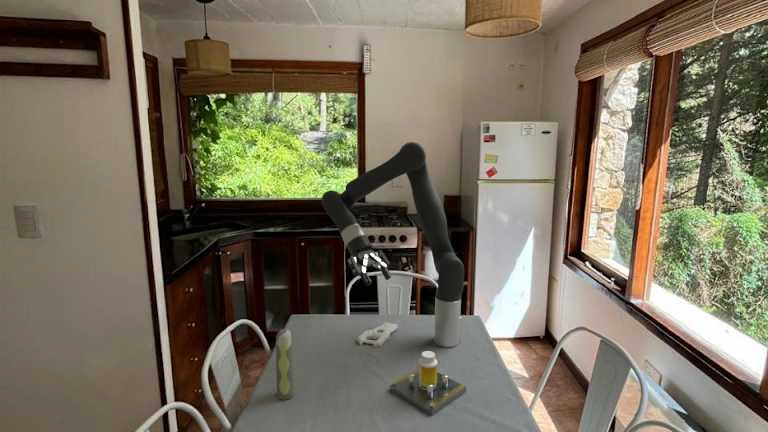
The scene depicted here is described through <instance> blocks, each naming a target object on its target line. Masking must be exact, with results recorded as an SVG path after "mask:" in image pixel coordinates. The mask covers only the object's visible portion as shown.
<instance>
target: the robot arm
mask: <svg viewBox="0 0 768 432" xmlns="http://www.w3.org/2000/svg"><path fill="white" fill-rule="evenodd" d="M426 159H427V153H426V151H425V149H424V147H423V146H422V145H421V144H419V143H418V142H414V141H410V142H407V143H405V144H403V145H401V148H400V149H399V151H398V152H397V153H396V154H395V155H393V156H392V157H391V158H390V159H388V160H387V161H385V162H384V163H382V164H380V165H378V166H376V167H374V168H372V169H370V170H368V171H366V172H363V174H361V175H359V176H357V177H356V178H354V179H352V180H350V181H349V182H347V184H346V185H345V189H344V191H343V192H341V193H339V192H338V191H335V190H327V191H325V192H324V193H323V195H322V197H321V205H322V207H323V209H324V211H325V212H326V213H327V215H328V217H330V218H331V220H332V221H333V223H334V224H335V226H336V228H337V230H338V232H339V234H340V235H341V237H342V238H341V239H342V240H343V241H342V242H344V244H345V246H346V248H347V250H348V252H349V253H350V257H349V258H348V259H347V264H348V267H349V268H350V270H351V273H352V275H353V276H354V277H356V276H358V277H360V278H361V280H362V281H363V283H364V285H365V286H367V287H368V286H370V285H371V284H372V282H373V281H372V279H371V278H370V276H369V274H368V273H367V272H366V271H367V268H372V267H374V268H375V269H376V268H377V269H379V270H380V271H381V274H382V276H383V277H384V279H385V280H386V281H388V280H390V279H391V278H392V274H391V272H390V271H389V269H388V266H389V265H390V261H389V260H388V258H387V256H386V254H385V253H384V252H383V250H382V249H379V250H378V251H376V252H375V251H374V249H373V244H372V243H371V240H370V239H369V238H368V236H367V234H366V233H365V230H364V228H362V227H361V226H360V224H359V222H358V221H357V219H356V216H354V214H353V213H352V212H351V211H350V209H351V208H353V206H354V205H355V204H356V203H357V202H358V201H359V200H361V199H362V198H364V197H366V196H368V195H370V194H372V192H375V190H377V189H379V188H381V187H383V186H384V185H385V184H387V183H389V182H390V181H392V180H394V179H396V178H398V177H400V176H403V175H406V176H407V178H408V181H409V185H410V187H411V193H412V198H413V203H414V207H415V211H416V213H417V214H416V215H417V217H418V220H419V223H420V226H421V228H422V230H423V233H424V235H425V237H426V240H427V241H428V244H429V247H430V250H431V255H432V259H433V264H434V269H435V271H436V273H437V274H438V276H437V277H438V279H437V281H438V283H437V288H436V290H435V301H434V303H435V304H434V329H433V330H434V332H433V333H434V334H433V335H434V336H433V342H434V343H435V344H436V345H438V346H440V347H444V348H453V347H456V346H458V345H459V344H460V342H462V332H463V331H462V326H463V317H462V316H461V311H462V310H461V309H462V308H461V307H462V306H461V304H462V294H463V291H464V282H465V265H464V264H463V261H462V260H461V259H460V258H459V257H458V256H457V255H456V253H455V251H454V249H453V247H452V244H451V241H450V239H449V238H450V237H449V235H448V234H449V233H448V232H449V231H448V223H447V217H446V213H445V210H444V207H443V203H442V201H441V199H440V196H439V194H438V192H437V189H436V187H435V185H434V183H433V181H432V179H431V177H430V172H429V169H428V163H427V160H426Z"/></svg>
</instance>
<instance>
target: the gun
mask: <svg viewBox="0 0 768 432" xmlns="http://www.w3.org/2000/svg"><path fill="white" fill-rule="evenodd" d="M398 328H399V326H398V324H397V323H392V322H387V321H384V322H383V323H382V325H379V326H377V327H374V328H373V329H367V330H364V332H362V333H361V334H360V335H359V336H358V337H357V338H356V341H357V343H358V344H359V345H360V346H362V345H363V344H369V345H372V347H373V348H374V347H375V348H376V347H377V348H378V347H382V345H383V344H384V343H385V342H386V341H388V340H389V339H390V336H391V335H392V333H394V331H396V330H397V329H398Z"/></svg>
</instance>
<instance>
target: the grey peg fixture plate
mask: <svg viewBox="0 0 768 432" xmlns="http://www.w3.org/2000/svg"><path fill="white" fill-rule="evenodd" d="M389 391H390V392H392V393H394V394H395V395H397V396H398V397H400V398H402V399H404V400H405V401H407V402H409V403H411V405H413V406H415V407H416V408H418V409H420V410H422V411H423V412H425V413H426V414H428V415H430V416H433V415H435V414H436V413H438V412H439V411H441V410H442V409H444V408H445V407H446V406H448V405H450V404H451V403H452V402H453V401H455V400H456V399H458V398H460V396H462V395H463V394H465V393H466V392H467V386H466V385H463V384H461V383H460V382H457V381H456V380H453V379H451V378H450V377H449V375H448V374H446V373H443V374H442V373H439V372H438V371H437V386H436V388H435V389H434V390H433V384H430V383H429V384H427V391H426V390H423V389H421V388H420V387H419V386H418V368H417V369H415V370H413V371H411V372H410V373H408V374H406V375H404V376H402V377H401V378H399V379H397V380H395V381H394V382H392V384H390V386H389Z"/></svg>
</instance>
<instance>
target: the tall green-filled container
mask: <svg viewBox="0 0 768 432" xmlns="http://www.w3.org/2000/svg"><path fill="white" fill-rule="evenodd" d="M275 365H276V367H275V368H276V370H275V371H276V396H277V398H278V399H280V400H285V401H286V400H289V399H291V398H292V397H294V395H295V384H294V383H295V382H294V379H295V378H294V359H293V342H292V333H291V331H290V330H289V329H285V328H283V329H280V330H279V331H278V332H277V334H276V336H275Z"/></svg>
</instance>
